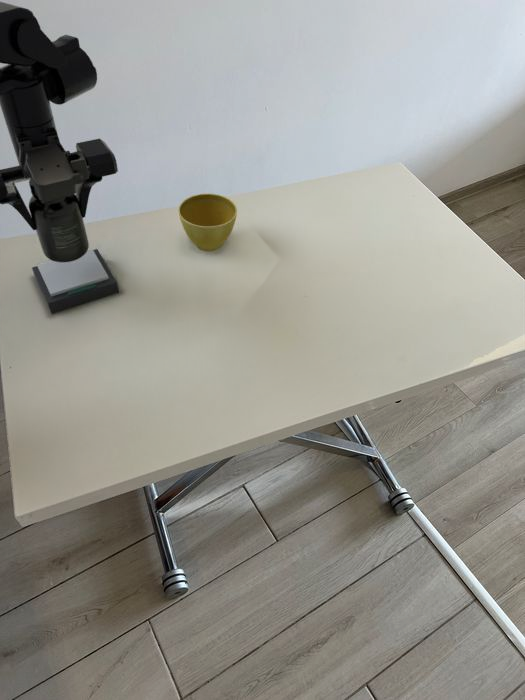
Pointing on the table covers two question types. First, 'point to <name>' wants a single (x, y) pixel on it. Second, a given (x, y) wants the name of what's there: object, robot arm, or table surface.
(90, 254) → the kitchen scale
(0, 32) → the robot arm
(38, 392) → the table surface
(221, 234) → the flower pot
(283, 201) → the table surface
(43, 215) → the supplement bottle
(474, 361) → the table surface
